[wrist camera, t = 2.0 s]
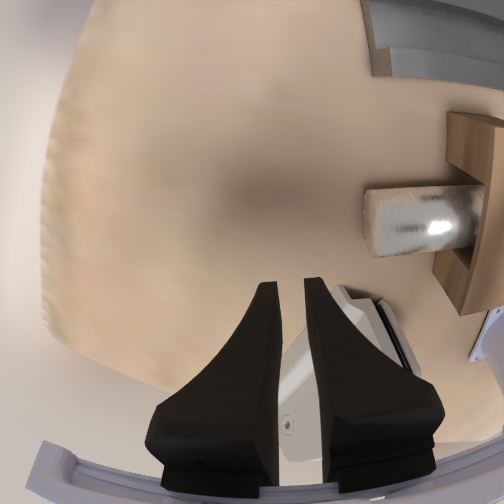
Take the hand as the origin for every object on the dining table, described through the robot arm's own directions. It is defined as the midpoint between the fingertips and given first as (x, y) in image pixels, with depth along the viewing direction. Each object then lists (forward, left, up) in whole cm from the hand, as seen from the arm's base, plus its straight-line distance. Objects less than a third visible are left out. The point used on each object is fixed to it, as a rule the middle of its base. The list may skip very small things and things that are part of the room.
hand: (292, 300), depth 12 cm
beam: (-13, 0, -8) cm, 15 cm away
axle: (-10, 0, -9) cm, 13 cm away
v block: (-12, -11, -8) cm, 18 cm away
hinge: (-2, +15, -9) cm, 17 cm away
